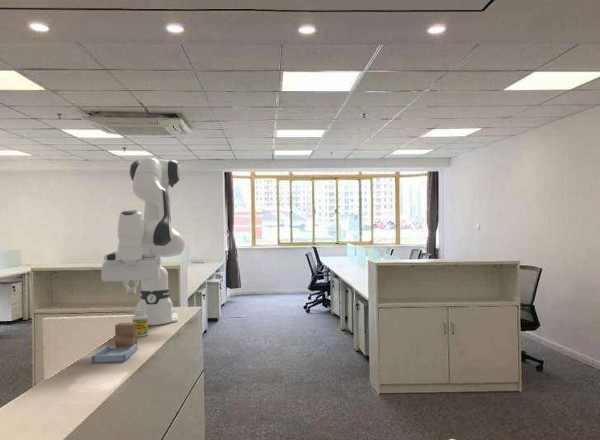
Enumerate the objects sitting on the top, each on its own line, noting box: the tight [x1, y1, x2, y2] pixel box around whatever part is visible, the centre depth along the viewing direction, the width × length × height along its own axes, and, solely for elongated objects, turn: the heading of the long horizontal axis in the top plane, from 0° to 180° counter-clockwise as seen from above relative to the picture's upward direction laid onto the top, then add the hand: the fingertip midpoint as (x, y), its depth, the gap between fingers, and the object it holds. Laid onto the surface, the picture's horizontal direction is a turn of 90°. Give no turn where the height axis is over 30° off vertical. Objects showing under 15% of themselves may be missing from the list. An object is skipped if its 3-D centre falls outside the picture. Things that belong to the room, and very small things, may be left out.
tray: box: [91, 343, 139, 364], centre depth 146 cm, size 13×10×2 cm
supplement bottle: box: [132, 309, 149, 338], centre depth 174 cm, size 5×5×10 cm
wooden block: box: [114, 322, 138, 348], centre depth 157 cm, size 4×6×8 cm, turn 94°
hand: (131, 293), depth 163 cm, fingers closed
